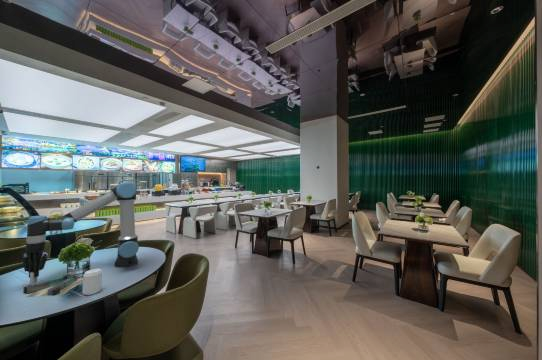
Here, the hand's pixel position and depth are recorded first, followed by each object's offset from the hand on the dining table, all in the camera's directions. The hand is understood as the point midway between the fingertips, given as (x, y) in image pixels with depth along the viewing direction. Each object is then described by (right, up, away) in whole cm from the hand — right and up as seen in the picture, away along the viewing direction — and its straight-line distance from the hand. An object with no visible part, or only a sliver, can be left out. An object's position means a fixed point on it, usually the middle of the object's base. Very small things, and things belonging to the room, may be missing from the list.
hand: (33, 282), depth 119 cm
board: (+14, -4, +1) cm, 15 cm away
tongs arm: (+8, -3, +2) cm, 9 cm away
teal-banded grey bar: (+17, -3, +1) cm, 17 cm away
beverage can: (+37, -4, -3) cm, 37 cm away
